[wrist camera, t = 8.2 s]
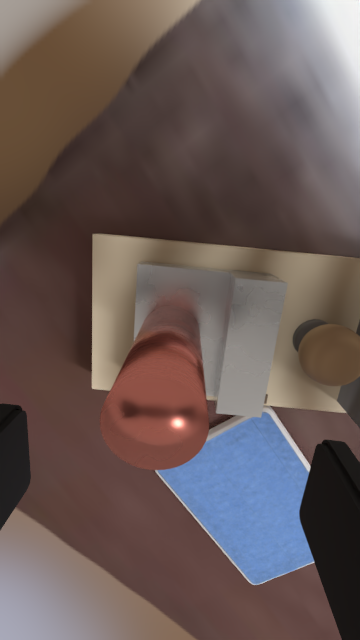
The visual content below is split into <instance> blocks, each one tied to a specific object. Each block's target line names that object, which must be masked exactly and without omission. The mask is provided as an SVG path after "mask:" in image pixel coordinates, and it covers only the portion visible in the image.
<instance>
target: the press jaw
mask: <svg viewBox="0 0 360 640" xmlns="http://www.w3.org/2000/svg"><path fill="white" fill-rule="evenodd" d="M287 285H288V283H287V282H285V281H283V280H281V279H280V278H278V277H276V276H274V275H273V274H269V273H259V272H248V271H238V270H227V269H217V268H206V267H196V266H185V265H175V264H164V263H153V262H143V261H141V262H140V263H138V264H137V282H136V303H135V324H134V343H133V345H132V347H131V349H130V351H129V353H128V355H127V357H126V359H125V361H124V363H123V365H122V367H121V369H120V372H119V374H118V376H117V378H116V380H115V382H114V384H113V386H112V388H111V390H110V392H109V394H108V396H107V398H106V400H105V402H104V405H103V407H102V410H101V414H100V428H101V433H102V435H103V438H104V440H105V442H106V444H107V445H108V447H109V448H110V449H111V450H112V451H113V452H114V454H116V455H117V456H118V457H119V458H120V459H122V460H124V461H125V462H127V463H129V464H131V465H133V466H136V467H139V468H143V469H149V470H166V469H171V468H175V467H178V466H180V465H183V464H185V463H186V462H188V461H190V460H191V459H192V458H194V457H195V456H196V455H197V454H198V453H199V452H200V450H201V449H202V448H203V446H204V444H205V442H206V440H207V437H208V432H209V418H208V408H207V398H206V396H214V403H215V410H216V413H218V414H229V415H239V416H249V417H260V418H261V416H262V411H263V406H264V401H265V396H266V391H267V386H268V381H269V376H270V370H271V365H272V360H273V355H274V350H275V345H276V340H277V335H278V330H279V325H280V320H281V315H282V310H283V305H284V300H285V295H286V290H287Z"/></svg>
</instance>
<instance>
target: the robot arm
mask: <svg viewBox="0 0 360 640" xmlns="http://www.w3.org/2000/svg"><path fill="white" fill-rule="evenodd" d="M30 479H31V475H30V460H29V445H28V430H27V415H26V412H25V411H22V408H21V406H19V405H11V404H0V530H1V528H2V527H3V525H4V524H5V522H6V521H7V519H8V518H9V516H10V514H11V513H12V511H13V510H14V509H15V507H16V506H17V504H18V503H19V501H20V499H21V498H22V496H23V495H24V493H25V492H26V490H27V488H28V486H29V483H30ZM299 517H300V522H301V525H302V528H303V531H304V534H305V537H306V539H307V542H308V545H309V548H310V551H311V554H312V556H313V559H314V562H315V565H316V568H317V570H318V573H319V576H320V579H321V582H322V585H323V587H324V590H325V593H326V596H327V599H328V601H329V604H330V607H331V610H332V613H333V616H334V618H335V621H336V624H337V627H338V630H339V633H340V635H341V638H342V640H360V463H359V461H358V460H357V458H356V457H355V455H354V454H353V453H352V451H351V450H350V448H349V447H348V446H347V444H346V443H345V442H341V441H333V440H324V441H323V442H322V444H318V445H317V446H316V449H315V453H314V456H313V460H312V464H311V468H310V471H309V475H308V479H307V483H306V486H305V490H304V494H303V498H302V502H301V505H300V510H299Z"/></svg>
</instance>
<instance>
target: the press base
mask: <svg viewBox="0 0 360 640" xmlns="http://www.w3.org/2000/svg"><path fill="white" fill-rule="evenodd" d="M141 261H143V262H153V263H164V264H175V265H185V266H196V267H206V268H217V269H227V270H238V271H248V272H259V273H269V274H273V275H274V276H276V277H278V278H280V279H281V280H283V281H285V282H287V283H288V285H287V290H286V295H285V300H284V305H283V310H282V315H281V320H280V325H279V330H278V335H277V340H276V345H275V350H274V355H273V360H272V365H271V370H270V376H269V381H268V386H267V391H266V396H265V401H264V405H267V406H278V407H288V408H299V409H309V410H320V411H330V412H341V413H348V415H349V416H350V417H351V418H352V419H353V421H354V422H355V423H356V424H357V425H358V426H359V428H360V258H354V257H344V256H333V255H323V254H312V253H302V252H291V251H280V250H270V249H259V248H249V247H238V246H228V245H217V244H207V243H196V242H185V241H175V240H164V239H154V238H143V237H133V236H122V235H111V234H93V248H92V389H100V390H111V388H112V386H113V384H114V382H115V380H116V378H117V376H118V374H119V372H120V369H121V367H122V365H123V363H124V361H125V359H126V357H127V355H128V353H129V351H130V349H131V347H132V345H133V343H134V324H135V303H136V282H137V264H138V263H140V262H141ZM206 398H207V400H214V396H206Z"/></svg>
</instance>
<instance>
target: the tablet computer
mask: <svg viewBox="0 0 360 640" xmlns="http://www.w3.org/2000/svg"><path fill="white" fill-rule="evenodd" d="M310 468H311V466H310V465H309V463H308V462H307V460H306V459H305V457H304V456H303V454H302V453H301V451H300V450H299V448H298V447H297V445H296V444H295V442H294V441H293V439H292V438H291V436H290V435H289V433H288V432H287V430H286V429H285V427H284V426H283V424H282V423H281V421H280V420H279V418H278V417H277V415H276V413H275V412H274V410H273V409H272V408H271V407H270V406H267V405H264V406H263V411H262V416H261V418H260V417H249V416H239V415H236V416H234V417H232V418H231V419H229V420H227V421H225V422H223V423H221V424H219V425H217V426H215V427H213V428H212V429H210V430H209V432H208V437H207V440H206V442H205V444H204V446H203V448H202V449H201V450H200V452H199V453H198V454H197V455H196V456H195V457H194V458H192V459H191V460H190V461H188V462H186V463H185V464H183V465H180V466H178V467H175V468H171V469H166V470H155V472H156V473H157V474H158V475H159V477H160V478H161V479H162V480H163V481H164V483H165V484H166V485H167V486H168V487H169V489H170V490H171V491H172V492H173V493H174V494H175V496H176V497H177V498H178V499H179V500H180V501H181V503H182V504H183V505H184V506H185V507H186V509H187V510H188V511H189V512H190V513H191V514H192V516H193V517H194V518H195V519H196V520H197V522H198V523H199V524H200V525H201V526H202V527H203V529H204V530H205V531H206V532H207V533H208V535H209V536H210V537H211V538H212V539H213V540H214V542H215V543H216V544H217V545H218V546H219V547H220V549H221V550H222V551H223V553H224V554H225V555H226V556H227V557H228V558H229V560H230V561H231V562H232V563H233V564H234V565H235V566H236V568H237V569H238V570H239V571H240V572H241V574H242V575H243V576H244V577H245V578H246V580H247V581H248V582H249V583H251V584H254V585H258V584H261V583H264V582H266V581H268V580H271V579H273V578H276V577H278V576H281V575H284V574H286V573H289V572H291V571H294V570H296V569H299V568H301V567H303V566H306V565H309V564H311V563H314V559H313V556H312V554H311V551H310V548H309V545H308V542H307V539H306V537H305V534H304V531H303V528H302V525H301V522H300V517H299V510H300V505H301V502H302V498H303V494H304V490H305V486H306V483H307V479H308V475H309V471H310Z"/></svg>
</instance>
